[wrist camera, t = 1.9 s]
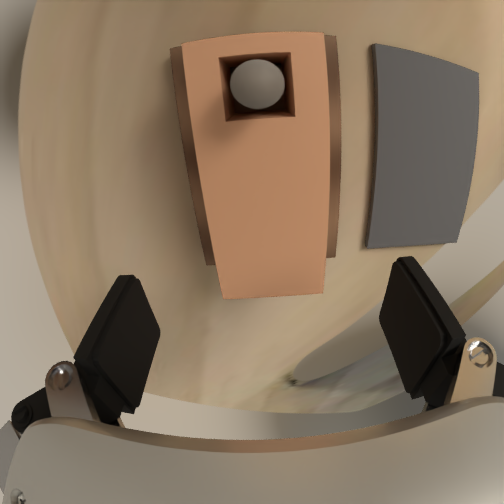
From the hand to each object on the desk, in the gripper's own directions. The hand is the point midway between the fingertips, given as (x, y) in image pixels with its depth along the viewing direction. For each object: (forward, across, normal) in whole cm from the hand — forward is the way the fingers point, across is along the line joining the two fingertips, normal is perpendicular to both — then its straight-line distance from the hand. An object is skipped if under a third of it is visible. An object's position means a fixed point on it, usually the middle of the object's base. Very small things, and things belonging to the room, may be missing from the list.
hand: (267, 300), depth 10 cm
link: (+10, 0, -3) cm, 10 cm away
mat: (+11, -13, -3) cm, 18 cm away
